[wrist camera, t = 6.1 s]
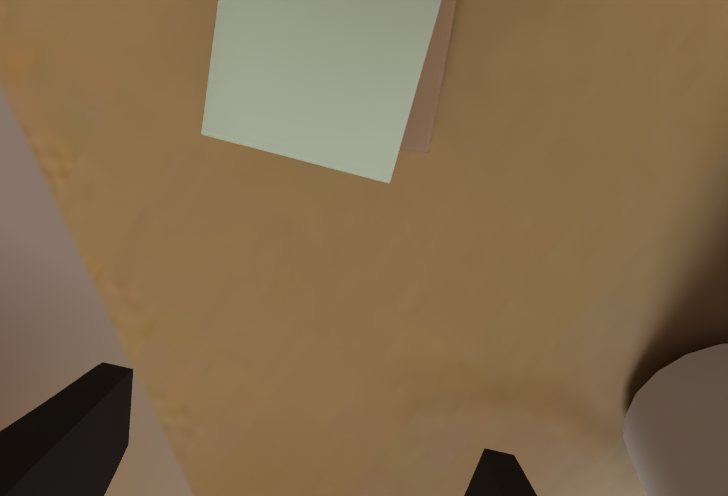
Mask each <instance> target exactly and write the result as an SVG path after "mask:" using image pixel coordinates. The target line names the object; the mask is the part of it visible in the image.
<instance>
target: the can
mask: <svg viewBox="0 0 728 496" xmlns="http://www.w3.org/2000/svg"><path fill="white" fill-rule="evenodd" d="M623 440H624V443H625V445H626V448H627V450H628V453H629V456H630V458H631V461H632V463H633V465H634V467H635V470H636V472H637V474H638V477H639V479H640V481H641V483H642V486H643V488H644V490H645V492H646V495H647V496H728V344H718V345H715V346H712V347H709V348H705V349H702V350H699V351H696V352H693V353H689V354H686V355H684V356H683V357H681V358H679V359H678V360H676V361H674V362H673V363H671V364H669V365H667V366H666V367H664V368H662V369H661V370H659V371H657V372H656V373H655V374H654V375H653V376H652V377H651V378H650V379H649V380H648V382H647V383H646V384H645V385H644V386H643V387H642V388H641V389H640V390H639V391H638V392H637V393H636V395H635V397H634V399H633V401H632V403H631V405H630V407H629V409H628V411H627V413H626V415H625V420H624V435H623Z"/></svg>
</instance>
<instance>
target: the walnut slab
mask: <svg viewBox="0 0 728 496" xmlns="http://www.w3.org/2000/svg"><path fill="white" fill-rule="evenodd" d="M456 2H457V0H442V1H441V4H440V8H439V11H438V15H437V18H436V22H435V25H434V29H433V32H432V36H431V39H430V43H429V46H428V50H427V54H426V57H425V61H424V64H423V68H422V71H421V75H420V78H419V82H418V85H417V89H416V92H415V96H414V99H413V103H412V106H411V110H410V113H409V117H408V120H407V124H406V128H405V131H404V135H403V138H402V142H401V145H400V149H402V150H409V151H415V152H422V153H429V151H430V146H431V140H432V135H433V129H434V124H435V118H436V113H437V107H438V102H439V96H440V91H441V85H442V80H443V74H444V69H445V63H446V58H447V52H448V47H449V41H450V36H451V30H452V25H453V19H454V14H455V8H456Z"/></svg>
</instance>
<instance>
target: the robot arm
mask: <svg viewBox="0 0 728 496" xmlns="http://www.w3.org/2000/svg"><path fill="white" fill-rule="evenodd" d="M132 379H133V369H130V368H125V367H121V366H117V365H112V364H108V363H101V364H100V365H97V366H96V367H94V368H93V369H92V370H90V371H89V372H87V373H86V374H84V375H83V376H82V377H80V378H79V379H77V380H76V381H75V382H73V383H72V384H70V385H69V386H67V387H66V388H65V389H63V390H62V391H60V392H59V393H57V394H56V395H55V396H53V397H52V398H50V399H49V400H47V401H46V402H44V403H43V404H41V405H40V406H38V407H37V408H35V409H34V410H32V411H31V412H29V413H28V414H26V415H25V416H23V417H22V418H20V419H18V420H17V421H15V422H14V423H12V424H11V425H9V426H8V427H6V428H5V429H3V430H2V431H0V496H104V494H105V493H106V491H107V488H108V486H109V484H110V482H111V480H112V478H113V476H114V474H115V472H116V470H117V468H118V466H119V463H120V461H121V459H122V457H123V455H124V453H125V450H126V448H127V446H128V440H129V423H130V409H131V394H132ZM464 496H537V495H536V493H535V491H534V490H533V488H532V486H531V484H530V482H529V481H528V479H527V477H526V475H525V474H524V472H523V470H522V468H521V467H520V465H519V463H518V461H517V460H516V458H515V456H514V455H511V454H507V453H502V452H498V451H494V450H489V449H484V451H483V453H482V456H481V458H480V460H479V463H478V465H477V467H476V470H475V472H474V474H473V477H472V479H471V481H470V484H469V486H468V488H467V491H466V493H465V495H464Z"/></svg>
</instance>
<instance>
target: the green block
mask: <svg viewBox="0 0 728 496" xmlns="http://www.w3.org/2000/svg"><path fill="white" fill-rule="evenodd" d="M441 1H442V0H218V8H217V15H216V23H215V31H214V39H213V47H212V54H211V62H210V70H209V78H208V85H207V93H206V101H205V109H204V117H203V124H202V132H201V134H202V135H206V136H210V137H214V138H217V139H221V140H225V141H229V142H233V143H237V144H240V145H244V146H248V147H252V148H256V149H259V150H263V151H267V152H271V153H275V154H279V155H282V156H286V157H290V158H294V159H298V160H302V161H305V162H309V163H313V164H317V165H321V166H324V167H328V168H332V169H336V170H340V171H344V172H347V173H351V174H355V175H359V176H363V177H367V178H370V179H374V180H378V181H382V182H386V183H389V184H390V180H391V177H392V173H393V170H394V166H395V163H396V159H397V156H398V152H399V149H400V145H401V142H402V138H403V135H404V131H405V128H406V124H407V120H408V117H409V113H410V110H411V106H412V103H413V99H414V96H415V92H416V89H417V85H418V82H419V78H420V75H421V71H422V68H423V64H424V61H425V57H426V54H427V50H428V46H429V43H430V39H431V36H432V32H433V29H434V25H435V22H436V18H437V15H438V11H439V8H440V4H441Z"/></svg>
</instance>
